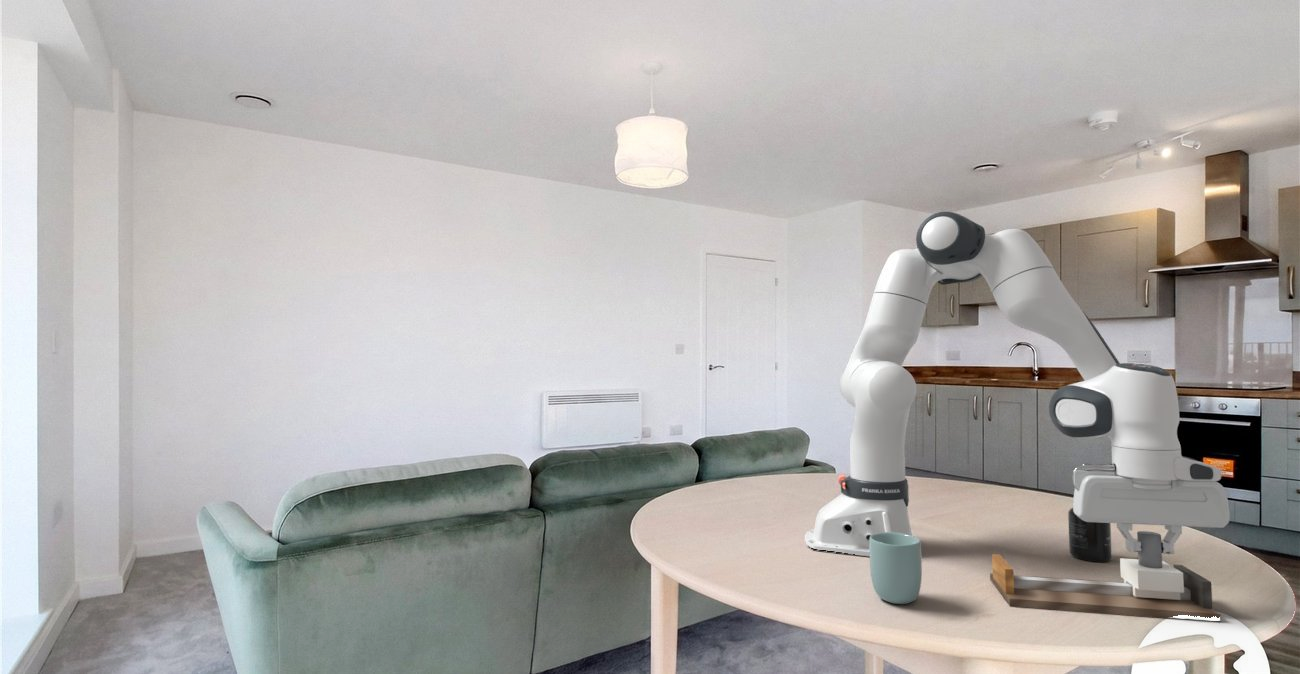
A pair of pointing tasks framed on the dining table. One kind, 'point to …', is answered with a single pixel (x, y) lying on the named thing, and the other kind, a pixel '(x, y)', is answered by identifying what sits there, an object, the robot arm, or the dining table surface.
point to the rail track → (1100, 594)
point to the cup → (895, 566)
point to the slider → (1151, 571)
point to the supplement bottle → (1089, 539)
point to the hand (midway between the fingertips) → (1149, 552)
